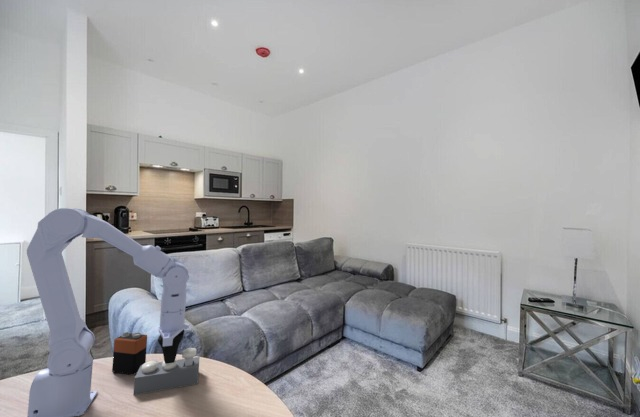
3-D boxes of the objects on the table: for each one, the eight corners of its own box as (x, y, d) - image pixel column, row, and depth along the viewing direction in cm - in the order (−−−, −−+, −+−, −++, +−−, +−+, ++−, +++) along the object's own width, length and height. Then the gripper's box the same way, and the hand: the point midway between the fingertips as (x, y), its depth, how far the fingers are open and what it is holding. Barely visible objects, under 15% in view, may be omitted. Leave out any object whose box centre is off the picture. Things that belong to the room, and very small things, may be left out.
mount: (133, 395, 64) (134, 377, 64) (139, 380, 69) (140, 364, 70) (197, 383, 69) (198, 368, 69) (198, 371, 75) (199, 356, 75)
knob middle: (159, 387, 67) (161, 366, 67) (162, 379, 70) (163, 359, 70) (175, 384, 68) (176, 364, 68) (176, 377, 71) (178, 357, 72)
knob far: (180, 375, 69) (181, 354, 69) (181, 368, 72) (183, 348, 72) (194, 373, 70) (196, 352, 70) (195, 366, 73) (196, 346, 73)
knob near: (138, 390, 65) (140, 369, 66) (142, 382, 68) (143, 362, 69) (154, 388, 67) (156, 366, 67) (157, 380, 70) (158, 360, 70)
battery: (133, 375, 71) (136, 337, 72) (110, 373, 72) (113, 335, 73) (146, 367, 76) (148, 331, 76) (124, 364, 77) (127, 329, 77)
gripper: (187, 317, 65) (184, 374, 64) (192, 299, 78) (189, 347, 78) (154, 320, 62) (150, 380, 62) (164, 301, 76) (161, 350, 75)
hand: (170, 362), depth 69 cm, fingers closed, pressing on knob middle
